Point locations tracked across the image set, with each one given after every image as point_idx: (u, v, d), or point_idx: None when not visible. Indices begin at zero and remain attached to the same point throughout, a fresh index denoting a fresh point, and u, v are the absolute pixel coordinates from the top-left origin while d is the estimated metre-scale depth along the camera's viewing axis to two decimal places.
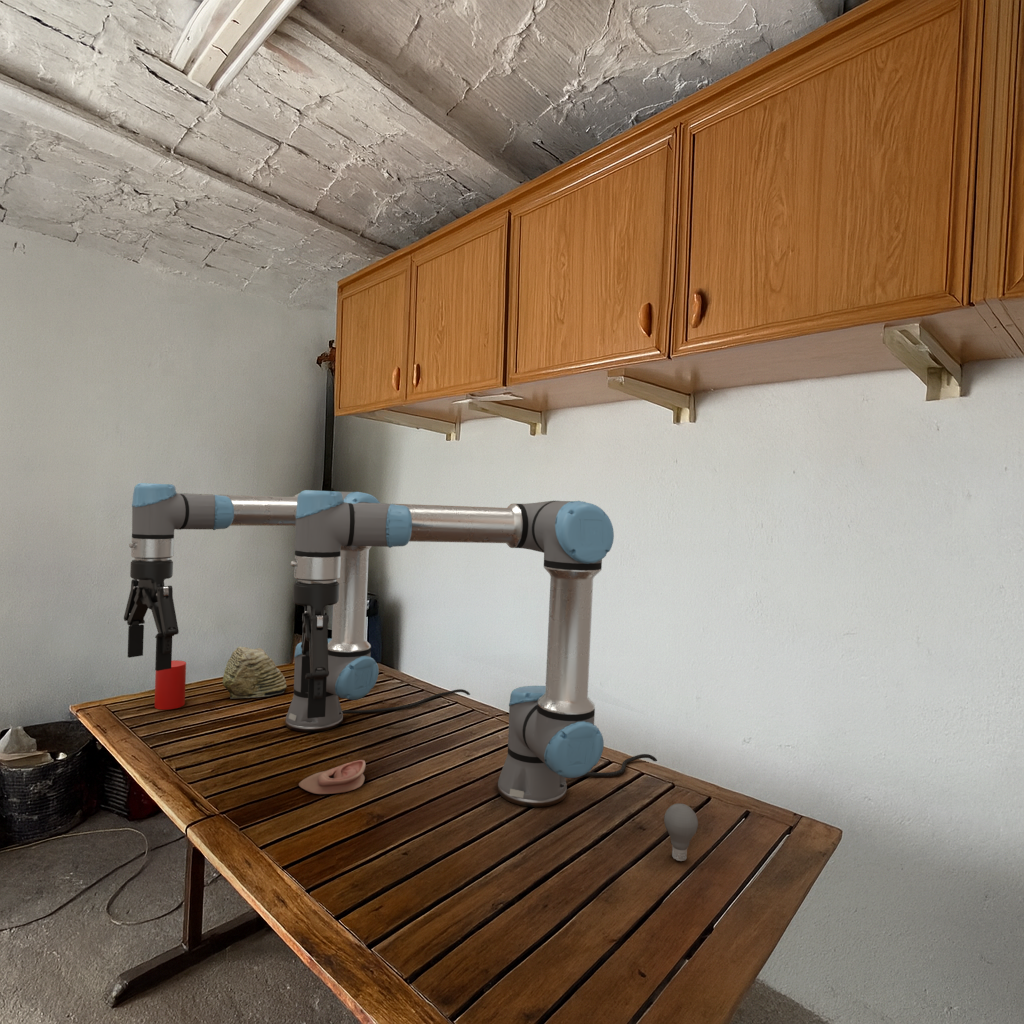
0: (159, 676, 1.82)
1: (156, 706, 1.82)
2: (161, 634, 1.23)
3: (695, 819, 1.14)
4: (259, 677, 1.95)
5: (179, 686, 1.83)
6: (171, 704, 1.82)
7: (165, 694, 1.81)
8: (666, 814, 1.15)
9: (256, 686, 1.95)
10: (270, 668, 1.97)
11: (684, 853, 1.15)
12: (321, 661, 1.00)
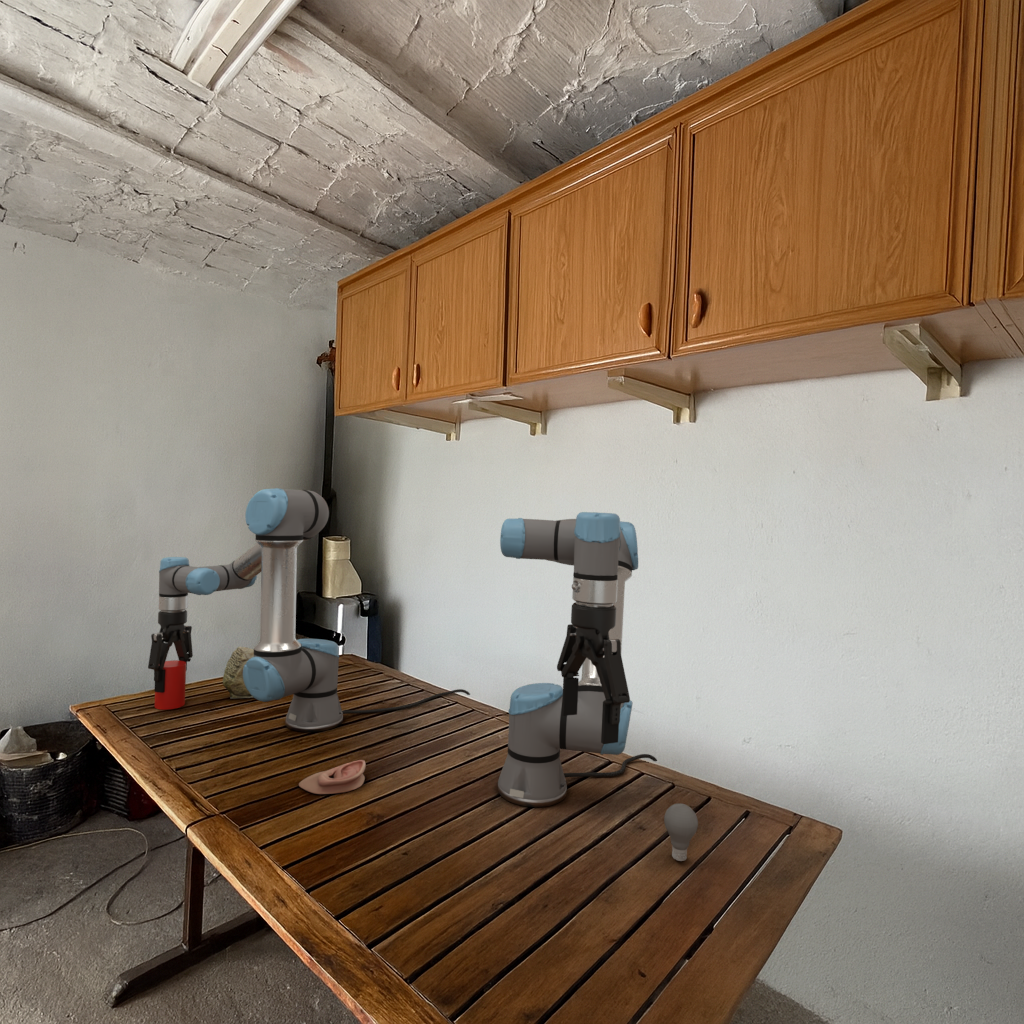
0: None
1: (156, 706, 1.82)
2: None
3: (695, 819, 1.14)
4: None
5: (179, 686, 1.83)
6: (171, 704, 1.82)
7: (165, 694, 1.81)
8: (666, 814, 1.15)
9: None
10: None
11: (684, 853, 1.15)
12: (621, 687, 0.99)
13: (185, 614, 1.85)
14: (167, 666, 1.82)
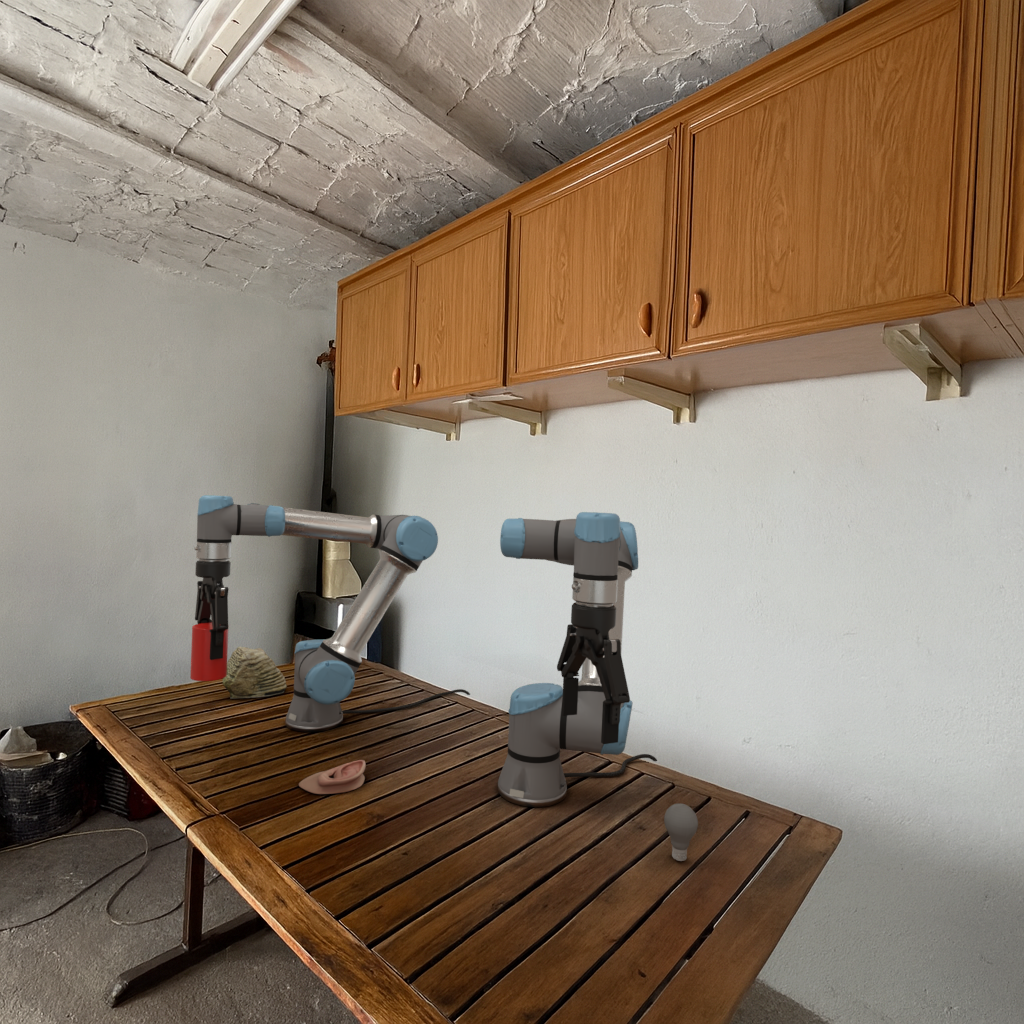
0: None
1: (208, 678, 1.48)
2: (214, 630, 1.46)
3: (695, 819, 1.14)
4: (259, 677, 1.95)
5: (227, 649, 1.53)
6: (224, 671, 1.51)
7: (221, 660, 1.50)
8: (666, 814, 1.15)
9: (256, 686, 1.95)
10: (270, 668, 1.97)
11: (684, 853, 1.15)
12: (621, 687, 0.99)
13: None
14: None
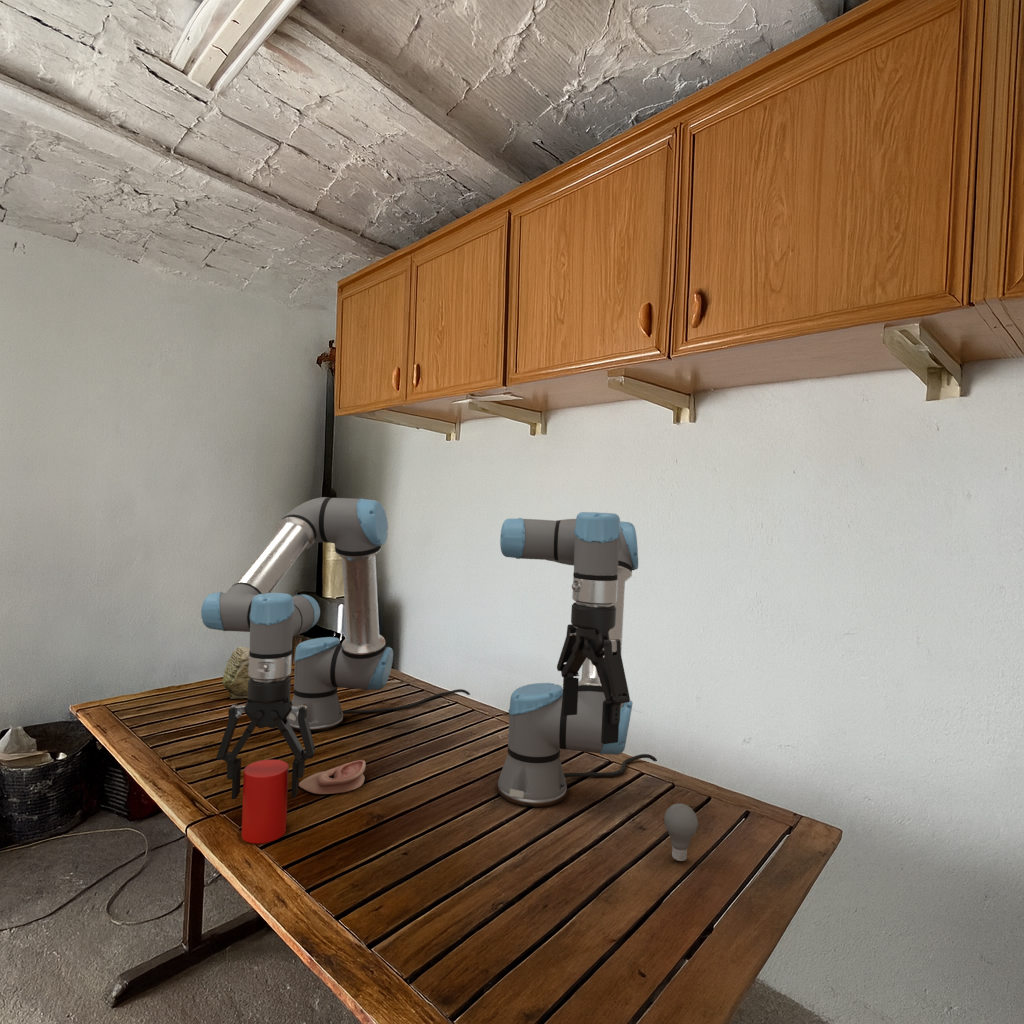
0: (286, 783, 1.19)
1: (283, 832, 1.18)
2: (303, 758, 1.19)
3: (695, 819, 1.14)
4: None
5: None
6: None
7: None
8: (666, 814, 1.15)
9: None
10: None
11: (684, 853, 1.15)
12: (621, 687, 0.99)
13: None
14: (282, 765, 1.20)
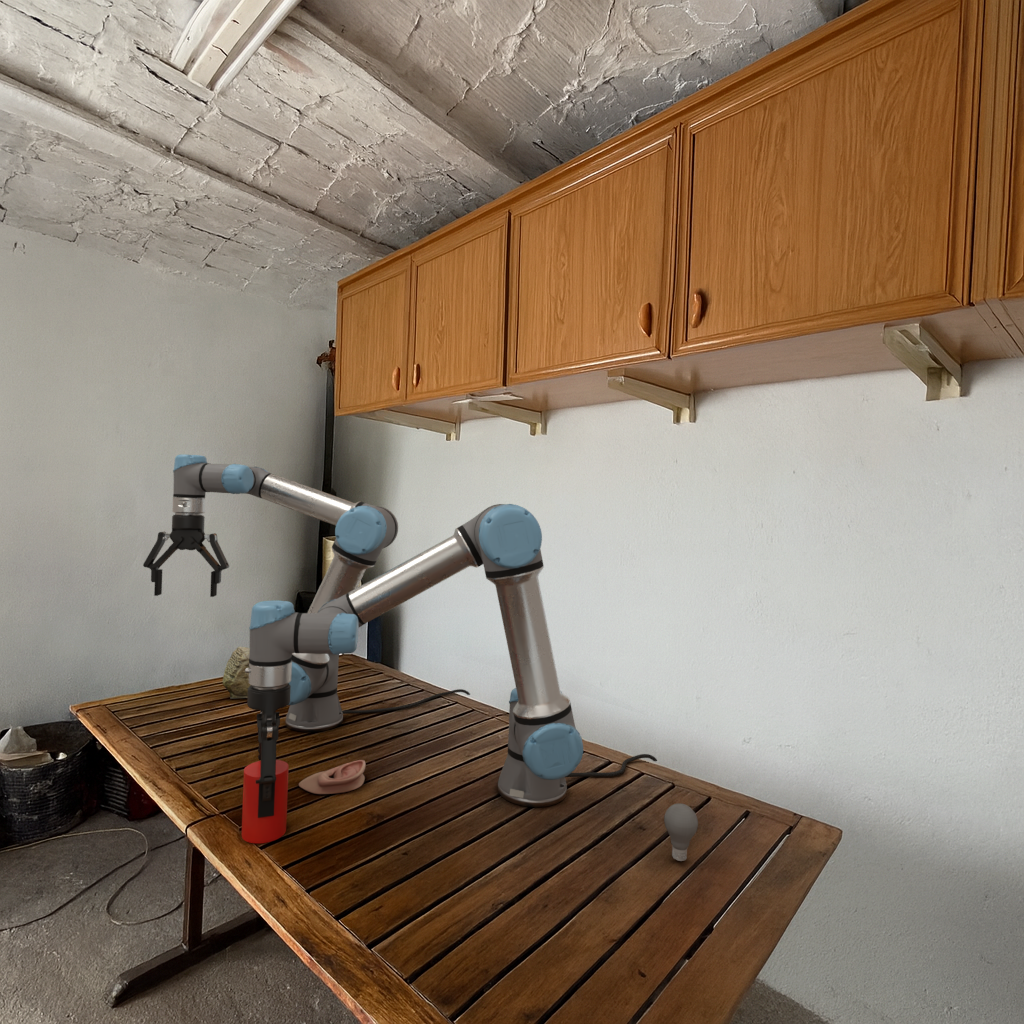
0: (286, 783, 1.19)
1: (283, 832, 1.18)
2: (219, 568, 1.65)
3: (695, 819, 1.14)
4: None
5: None
6: None
7: None
8: (666, 814, 1.15)
9: None
10: None
11: (684, 853, 1.15)
12: (269, 770, 1.12)
13: None
14: (282, 765, 1.20)
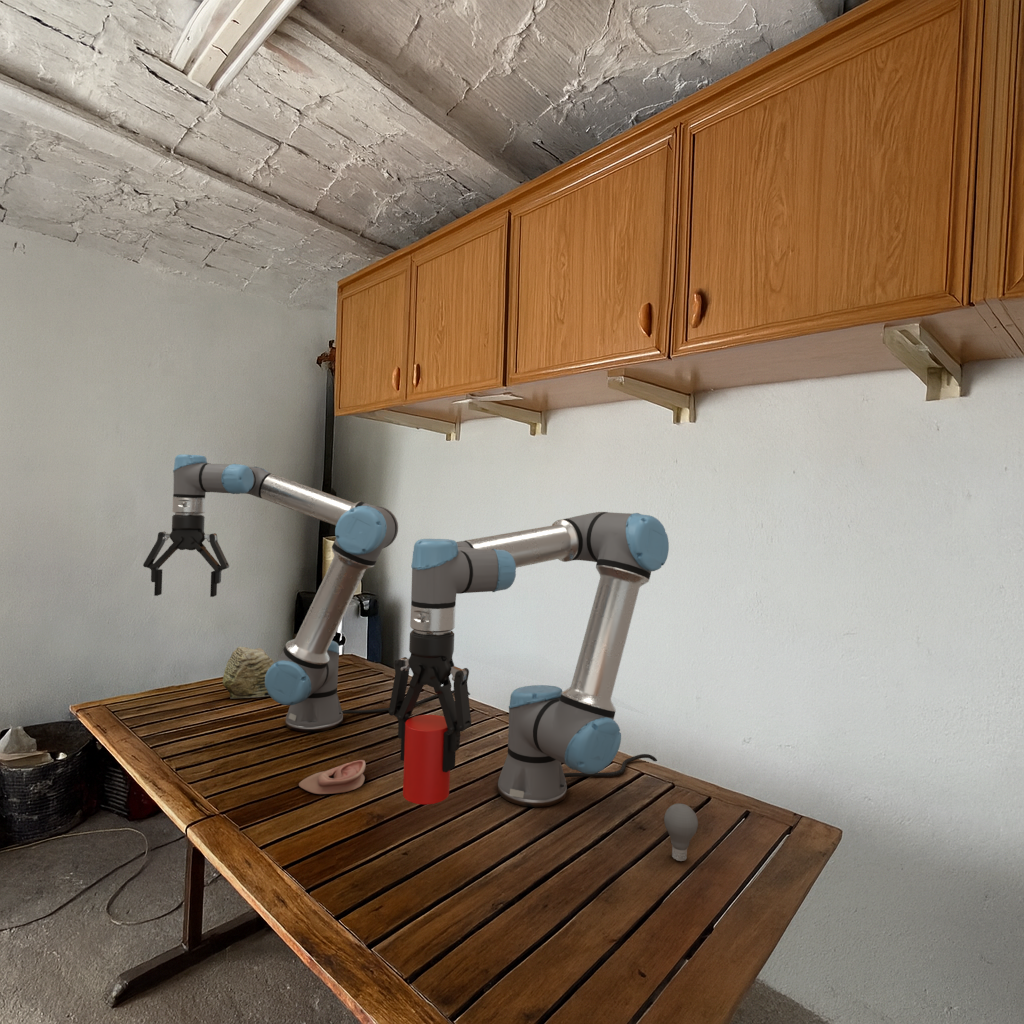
0: None
1: None
2: (219, 568, 1.65)
3: (695, 819, 1.14)
4: (259, 677, 1.95)
5: None
6: None
7: None
8: (666, 814, 1.15)
9: (256, 686, 1.95)
10: None
11: (684, 853, 1.15)
12: (467, 715, 1.04)
13: None
14: (436, 717, 1.10)
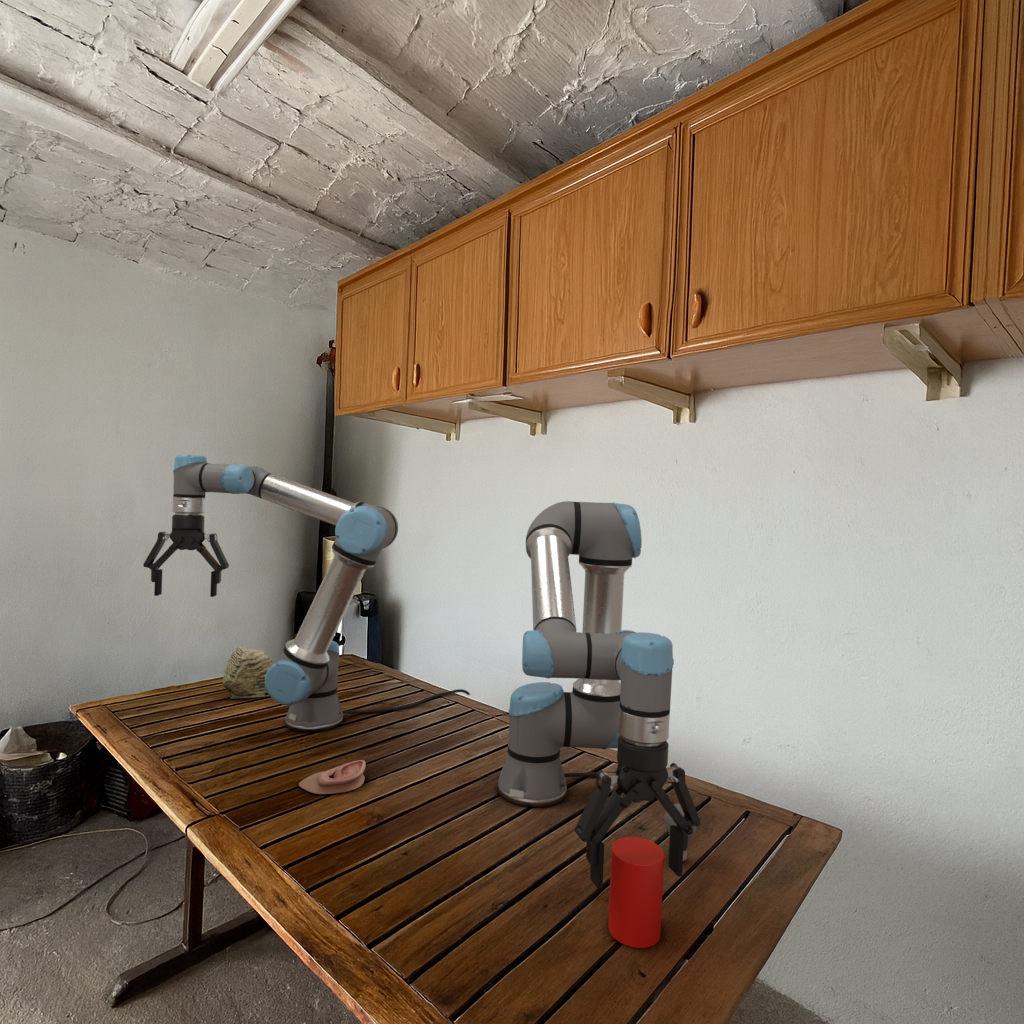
0: None
1: None
2: (219, 568, 1.65)
3: None
4: (259, 677, 1.95)
5: None
6: None
7: None
8: (666, 814, 1.15)
9: (256, 686, 1.95)
10: None
11: (684, 853, 1.15)
12: None
13: None
14: (626, 840, 0.99)
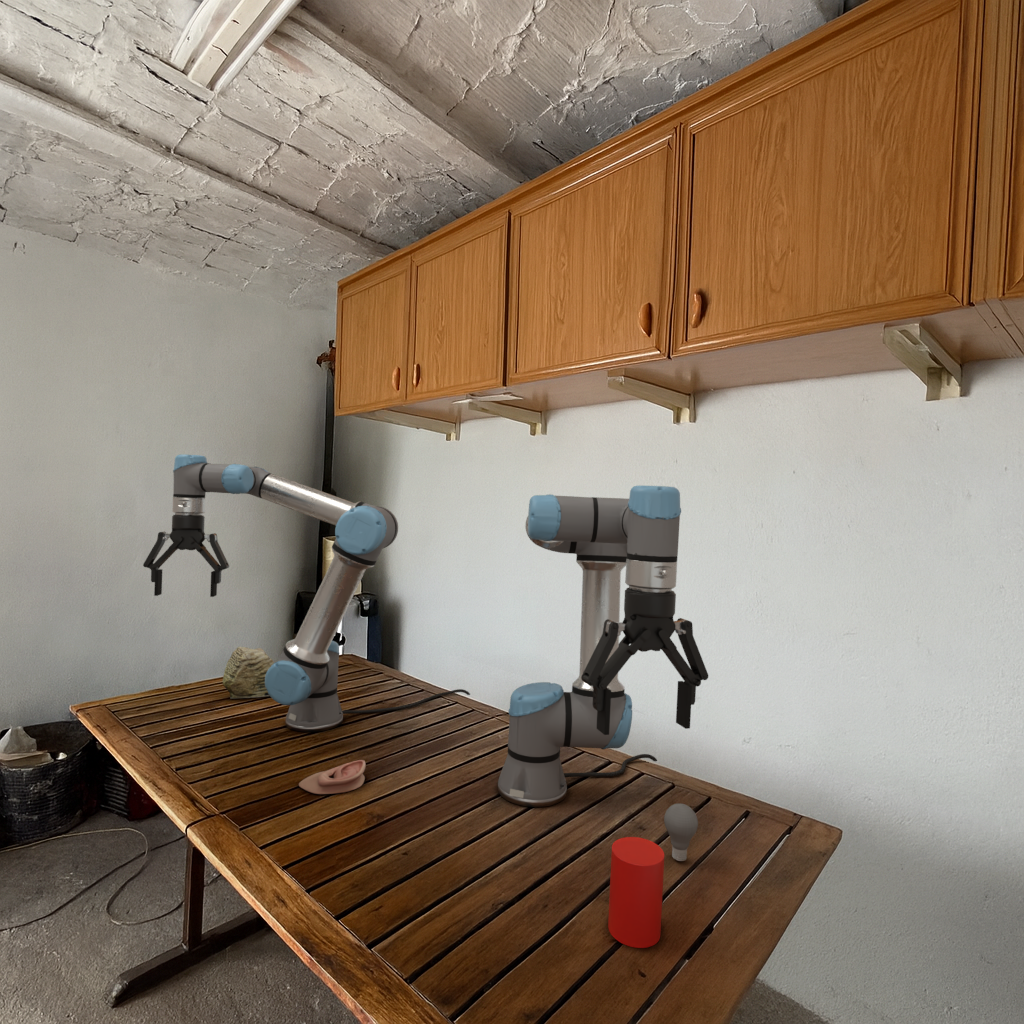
0: None
1: None
2: (219, 568, 1.65)
3: (695, 819, 1.14)
4: (259, 677, 1.95)
5: None
6: None
7: None
8: (666, 814, 1.15)
9: (256, 686, 1.95)
10: None
11: (684, 853, 1.15)
12: None
13: None
14: (626, 840, 0.99)
